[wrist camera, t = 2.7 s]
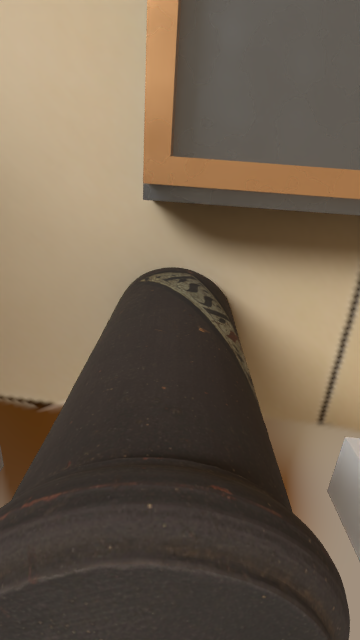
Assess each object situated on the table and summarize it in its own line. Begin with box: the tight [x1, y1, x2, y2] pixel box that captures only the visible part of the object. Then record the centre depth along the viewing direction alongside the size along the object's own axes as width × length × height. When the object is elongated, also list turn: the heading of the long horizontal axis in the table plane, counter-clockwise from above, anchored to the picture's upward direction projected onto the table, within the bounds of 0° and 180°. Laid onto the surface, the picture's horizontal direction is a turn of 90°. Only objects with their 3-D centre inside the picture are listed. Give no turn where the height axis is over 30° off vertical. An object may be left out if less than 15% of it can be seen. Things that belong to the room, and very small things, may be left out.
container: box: [0, 268, 350, 640], centre depth 15 cm, size 9×9×20 cm
